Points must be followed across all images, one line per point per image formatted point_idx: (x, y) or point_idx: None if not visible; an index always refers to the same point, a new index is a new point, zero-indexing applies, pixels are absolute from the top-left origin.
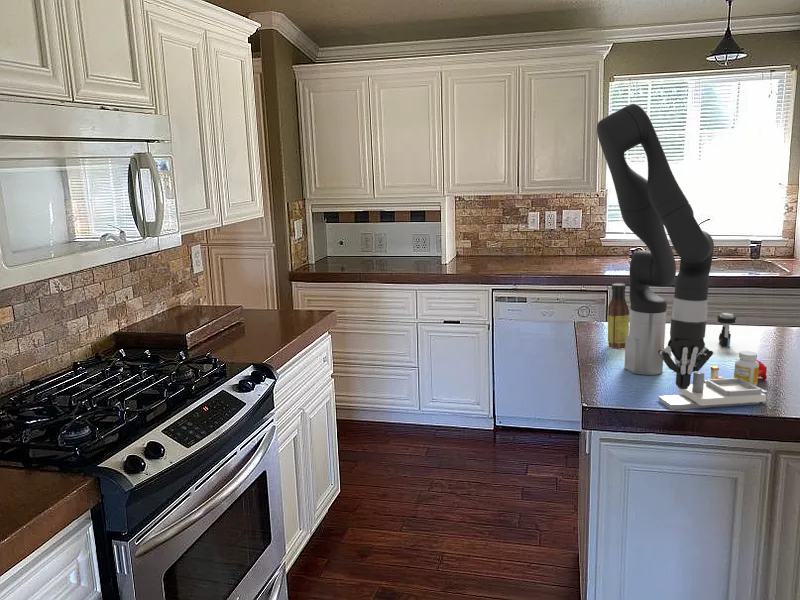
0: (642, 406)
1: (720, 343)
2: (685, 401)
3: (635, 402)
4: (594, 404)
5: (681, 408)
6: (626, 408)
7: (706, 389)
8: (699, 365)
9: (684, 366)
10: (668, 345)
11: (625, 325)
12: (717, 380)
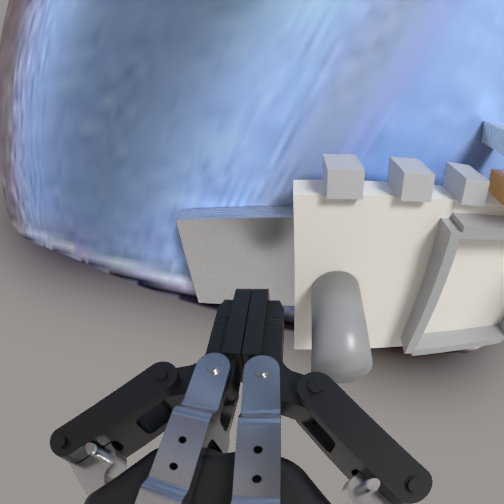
0: (120, 249)
1: None
2: (265, 285)
3: (102, 214)
4: (18, 219)
5: None
6: (80, 256)
7: (391, 276)
8: (319, 433)
9: (223, 425)
10: (91, 501)
11: None
12: (492, 236)
